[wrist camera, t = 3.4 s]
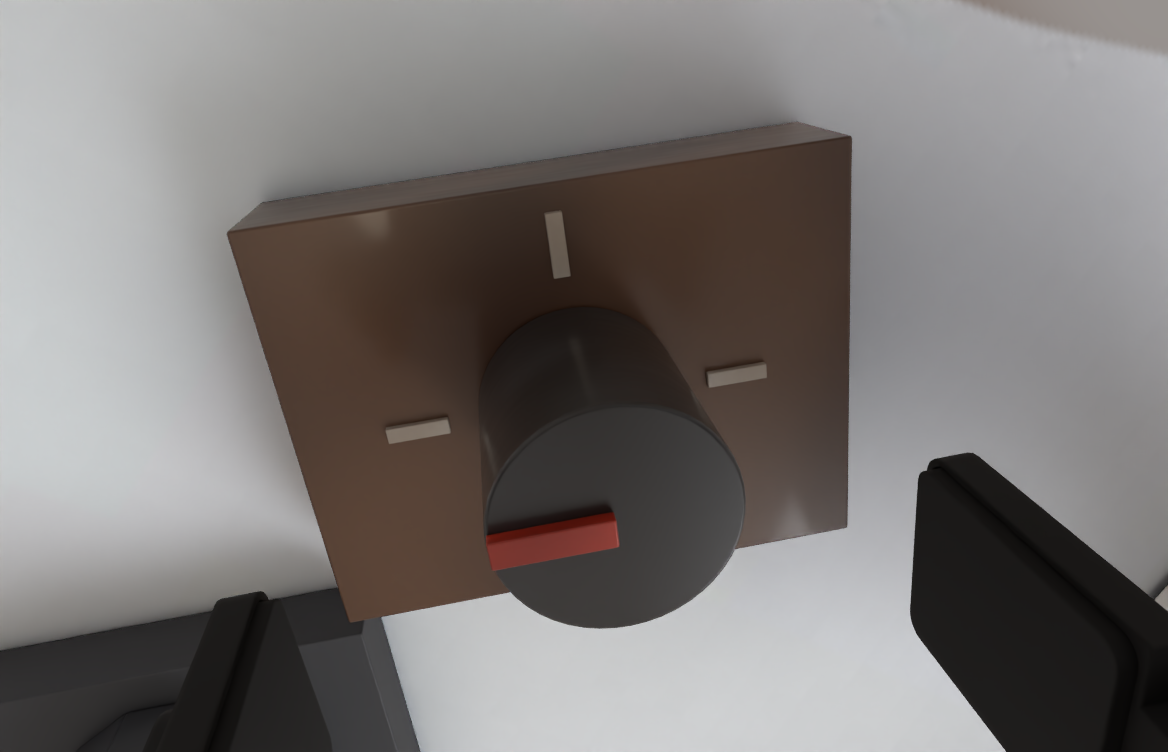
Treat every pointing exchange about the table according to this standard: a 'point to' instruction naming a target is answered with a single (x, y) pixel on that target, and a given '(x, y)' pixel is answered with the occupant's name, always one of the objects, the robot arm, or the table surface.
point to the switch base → (159, 667)
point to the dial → (601, 473)
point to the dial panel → (537, 287)
